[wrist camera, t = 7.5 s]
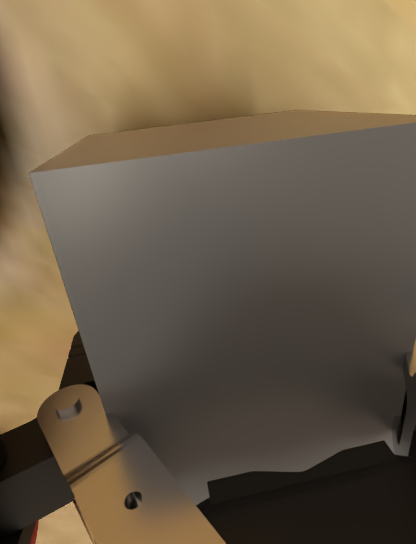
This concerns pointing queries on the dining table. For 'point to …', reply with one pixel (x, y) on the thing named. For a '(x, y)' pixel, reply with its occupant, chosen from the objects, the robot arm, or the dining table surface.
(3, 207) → the dining table surface
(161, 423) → the gray rectangular prism
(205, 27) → the dining table surface
